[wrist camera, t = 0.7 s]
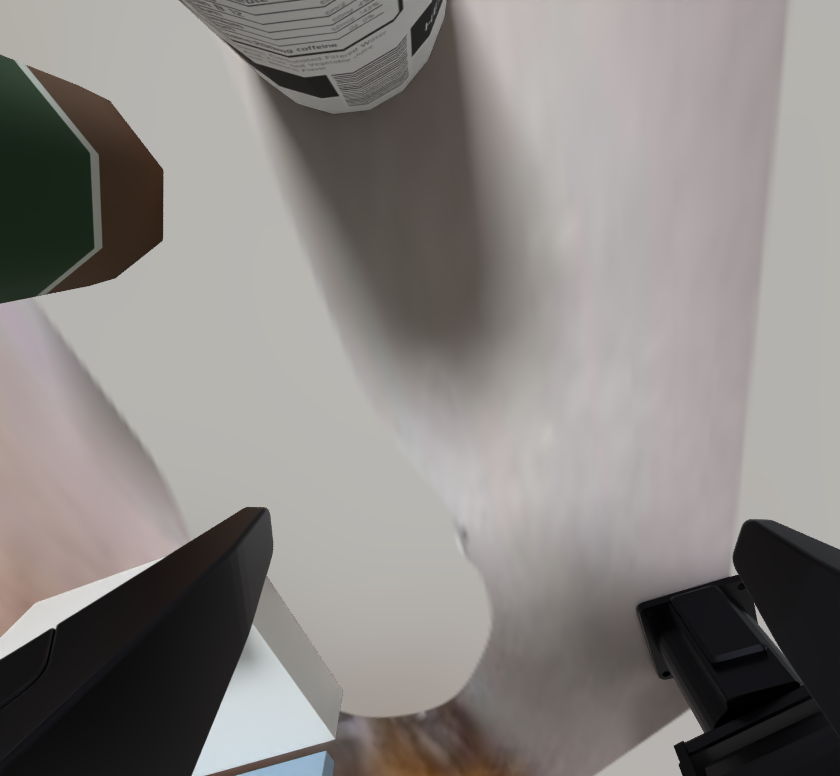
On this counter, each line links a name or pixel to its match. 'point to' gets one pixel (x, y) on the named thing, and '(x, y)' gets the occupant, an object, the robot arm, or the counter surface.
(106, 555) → the counter surface
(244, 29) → the supplement can
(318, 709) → the white stepped block
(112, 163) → the beer bottle
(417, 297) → the counter surface
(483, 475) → the counter surface
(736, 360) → the counter surface
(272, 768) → the panel
